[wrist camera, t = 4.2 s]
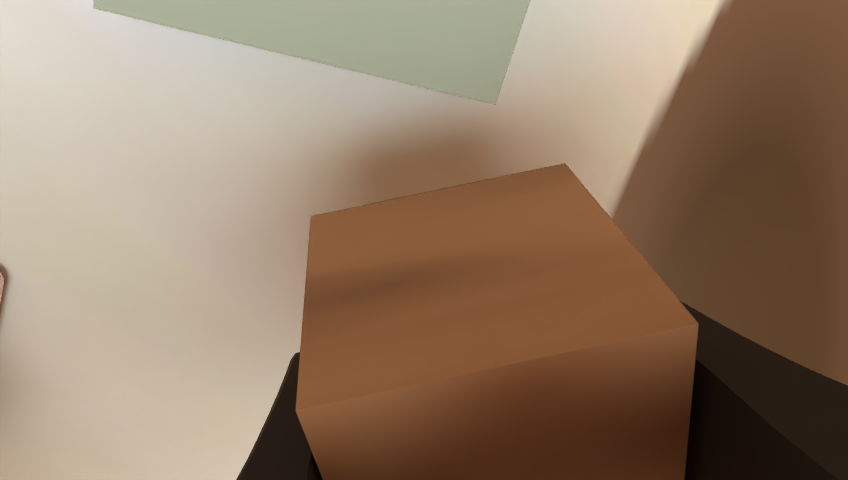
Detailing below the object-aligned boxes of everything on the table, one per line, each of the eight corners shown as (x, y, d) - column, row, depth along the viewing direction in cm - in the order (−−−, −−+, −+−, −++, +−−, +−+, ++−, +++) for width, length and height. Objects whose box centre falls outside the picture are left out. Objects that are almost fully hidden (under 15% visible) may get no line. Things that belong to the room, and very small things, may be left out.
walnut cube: (574, 355, 14) (677, 556, 10) (366, 400, 14) (379, 623, 10) (564, 163, 12) (698, 323, 7) (310, 216, 12) (295, 410, 7)
